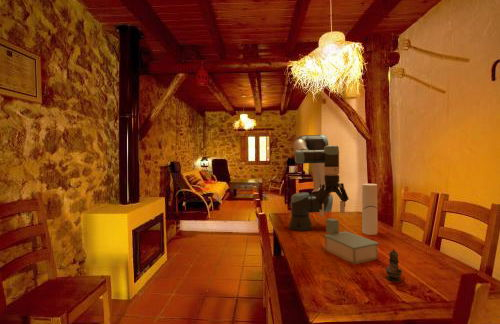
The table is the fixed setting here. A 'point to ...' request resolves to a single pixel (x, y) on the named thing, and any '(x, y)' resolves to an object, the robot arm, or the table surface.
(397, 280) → the dark statuette
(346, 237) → the lid
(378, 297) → the table surface
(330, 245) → the tub
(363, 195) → the container
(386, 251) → the table surface
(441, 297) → the table surface
